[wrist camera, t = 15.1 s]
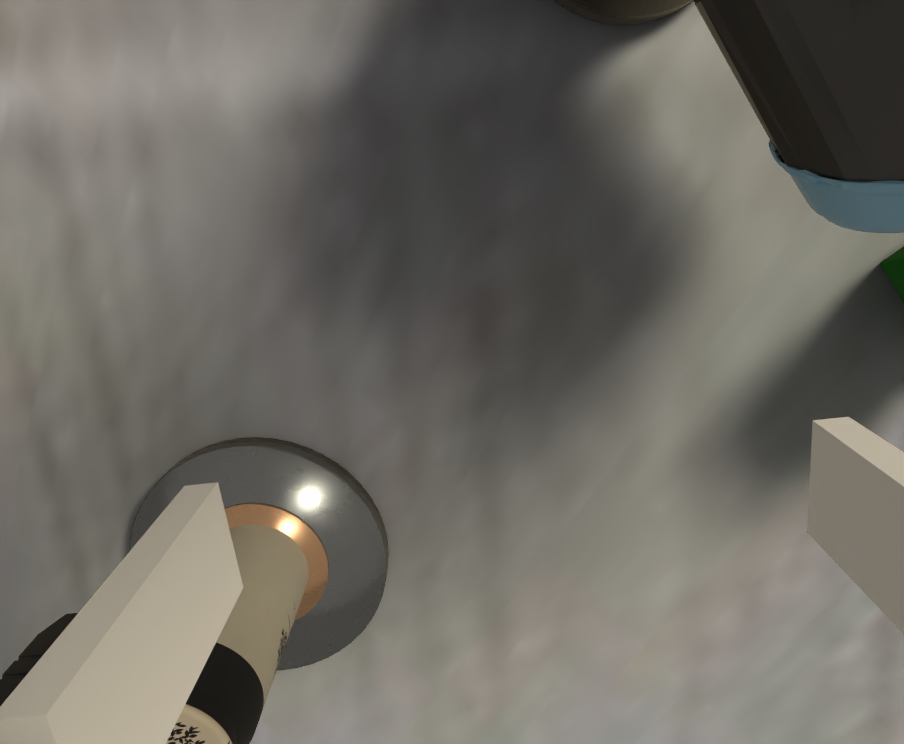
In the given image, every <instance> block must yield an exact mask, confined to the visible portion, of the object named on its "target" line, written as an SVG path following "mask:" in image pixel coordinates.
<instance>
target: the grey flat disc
mask: <svg viewBox="0 0 904 744" xmlns="http://www.w3.org/2000/svg"><path fill="white" fill-rule="evenodd" d="M216 482H218V485H219V489H220V493H221V497H222V501H223V505H224V509H225V513H226V518H227V522H228V526H229V529H231V528H234V527H237V526H241V525H247V524H258V525H265V526H269V527H272V528H275V529H277V530H279V531H281V532H283V533H285V534H286V535H288V536H289V537H290V538H292V539H293V540H294V541H295V542H296V543H297V544H298V546H299V547H300V548H301V550H302V551H303V553H304V555H305V557H306V560H307V564H308V570H309V575H308V582H307V585H306V588H305V591H304V594H303V597H302V599H301V602H300V605H299V608H298V611H297V614H296V616H295V619H294V622H293V625H292V628H291V631H290V633H289V636H288V639H287V642H286V645H285V648H284V650H283V653H282V656H281V659H280V662H279V665H278V667H277V670H286V669H292V668H298V667H302V666H306V665H310V664H313V663H316V662H318V661H321V660H323V659H326V658H328V657H329V656H331V655H333V654H335V653H337V652H339V651H340V650H341V649H343V648H344V647H346V646H347V645H348V644H350V643H351V642H352V641H353V640H354V639H355V638H356V637H357V636H358V635H359V634H360V633H361V632H362V631H363V630H364V629H365V627H366V626H367V625H368V624H369V622H370V621H371V619H372V617H373V616H374V614H375V612H376V610H377V608H378V606H379V603H380V601H381V598H382V595H383V590H384V586H385V581H386V575H387V569H388V555H389V553H388V541H387V536H386V531H385V527H384V524H383V521H382V519H381V516H380V514H379V511H378V509H377V508H376V506H375V504H374V502H373V500H372V499H371V497H370V496H369V495H368V493H367V492H366V491H365V489H364V488H363V487H362V485H361V484H360V483H359V482H358V481H357V480H356V479H355V478H354V477H353V476H352V475H351V474H350V473H349V472H347V471H346V470H345V469H344V468H342V467H341V466H340V465H339V464H337V463H336V462H334V461H333V460H331V459H329V458H328V457H326V456H324V455H323V454H321V453H318V452H316V451H314V450H312V449H310V448H307V447H304V446H301V445H298V444H295V443H292V442H288V441H283V440H278V439H270V438H239V439H233V440H227V441H223V442H219V443H216V444H213V445H209V446H207V447H205V448H202V449H200V450H198V451H196V452H194V453H192V454H191V455H189V456H187V457H186V458H184V459H183V460H181V461H180V462H179V463H178V464H176V465H175V466H174V467H173V468H172V469H171V470H169V471H168V473H167V474H166V475H165V476H164V477H163V478H162V479H161V480H160V481H159V482H158V483H157V485H156V486H155V487H154V488H153V489H152V490H151V492H150V493H149V494H148V496H147V497H146V499H145V500H144V502H143V504H142V505H141V507H140V509H139V512H138V514H137V516H136V519H135V522H134V526H133V530H132V534H131V544H130V550H131V549H132V548H133V547H134V546H135V544H136V543H137V542H138V541H139V540H140V538H141V537H142V536H143V535H144V534H145V532H146V531H147V530H148V529H149V528H150V526H151V525H152V524H153V523H154V522H155V520H156V519H157V518H158V517H159V516H160V514H161V513H162V512H163V511H164V510H165V509H166V507H167V506H168V505H169V504H170V503H171V501H172V500H173V499H174V498H175V497H176V495H177V494H178V493H179V492H180V491H181V489H182V488H183V487H184V486H187V485H196V484H206V483H216Z"/></svg>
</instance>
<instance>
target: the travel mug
mask: <svg viewBox="0 0 904 744" xmlns="http://www.w3.org/2000/svg"><path fill="white" fill-rule="evenodd" d="M229 530H230V534H231V538H232V542H233V546H234V551H235V555H236V559H237V563H238V567H239V571H240V575H241V579H242V584H243V589H242V591H241V593H240V595H239V597H238V599H237V601H236V603H235V605H234V607H233V609H232V611H231V613H230V615H229V617H228V619H227V621H226V623H225V625H224V627H223V629H222V631H221V633H220V635H219V637H218V639H217V641H216V643H215V645H214V648H213V650H212V652H211V654H210V656H209V658H208V660H207V662H206V664H205V666H204V668H203V670H202V672H201V674H200V676H199V678H198V680H197V682H196V684H195V686H194V688H193V690H192V692H191V694H190V696H189V698H188V700H187V702H186V704H185V706H184V708H183V710H182V712H181V714H180V716H179V718H178V720H177V722H176V724H175V726H174V728H173V730H172V732H171V734H170V736H169V738H168V740H167V742H166V744H249V743H250V741H251V740H252V737H253V735H254V733H255V730H256V727H257V724H258V721H259V719H260V716H261V713H262V710H263V707H264V704H265V702H266V699H267V696H268V693H269V690H270V687H271V684H272V682H273V679H274V676H275V673H276V670H277V667H278V665H279V662H280V659H281V656H282V653H283V650H284V648H285V645H286V642H287V639H288V636H289V633H290V631H291V628H292V625H293V622H294V619H295V616H296V614H297V611H298V608H299V605H300V602H301V599H302V597H303V594H304V591H305V588H306V585H307V582H308V575H309V570H308V564H307V560H306V557H305V555H304V553H303V551H302V550H301V548H300V547H299V546H298V544H297V543H296V542H295V541H294V540H293V539H292V538H290V537H289V536H288V535H286V534H285V533H283V532H281V531H279V530H277V529H275V528H272V527H269V526H265V525H258V524H247V525H241V526H237V527H234V528H231V529H229Z"/></svg>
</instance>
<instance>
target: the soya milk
mask: <svg viewBox="0 0 904 744" xmlns="http://www.w3.org/2000/svg"><path fill="white" fill-rule="evenodd" d="M880 265H881V267H882V268H883V270H884V271H885V273H886V275H887V276H888V278H889V279H890V281H891V283H892V284H893V286H894V288H895V289H896V291H897V292H898V294H899V296H900V297H901V299H902V300H903V302H904V247H903V248H902V249H900V250H899V251H898V252H896V253H895V254H893V255H892V256H890V257H889V258H888V259H886V260H885V261H883V262H882V263H880Z"/></svg>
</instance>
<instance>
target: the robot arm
mask: <svg viewBox="0 0 904 744" xmlns="http://www.w3.org/2000/svg"><path fill="white" fill-rule="evenodd" d="M555 1H556V2H558V3H559V4H560V5H562V6H563V7H565V8H566V9H568V10H569V11H571V12H573V13H575V14H577V15H579V16H581V17H584V18H586V19H589V20H592V21H596V22H600V23H606V24H614V25H630V24H639V23H645V22H649V21H653V20H656V19H659V18H662V17H664V16H667V15H669V14H671V13H673V12H675V11H677V10H679V9H681V8H682V7H684V6H686V5H687V4H689V3H690V2H691V1H693V0H555ZM694 2H696V3H695V5H696V7H697V9H698V11H699V12H700V14H701V16H702V18H703V20H704V21H705V23H706V25H707V27H708V29H709V30H710V32H711V34H712V36H713V38H714V39H715V41H716V43H717V45H718V47H719V48H720V50H721V52H722V54H723V56H724V57H725V59H726V61H727V63H728V65H729V66H730V68H731V70H732V72H733V74H734V75H735V77H736V79H737V81H738V83H739V84H740V86H741V88H742V90H743V92H744V93H745V95H746V97H747V99H748V101H749V102H750V104H751V106H752V108H753V110H754V111H755V113H756V115H757V117H758V119H759V120H760V122H761V124H762V126H763V128H764V129H765V131H766V133H767V135H768V137H769V138H770V142H769V147H770V150H771V153H772V155H773V157H774V159H775V161H776V162H777V163H778V164H779V165H780V166H782V167H783V168H784V170H785V171H786V172H788V173H789V174H790V175H791V177H792V178H793V180H794V182H795V183H796V185H797V186H798V188H799V190H800V191H801V193H802V195H803V196H804V198H805V199H806V201H807V203H808V204H809V205H810V207H811V208H812V209H813V210H814V211H815V212H816V213H818V214H819V215H821V216H823V217H824V218H826V219H827V220H828V221H830V222H832V223H835V224H836V225H838V226H840V227H844V228H848V229H852V230H856V231H863V232H873V233H901V232H904V0H694ZM807 532H808V534H809V535H810V536H811V537H812V538H813V539H814V540H815V541H816V542H817V543H818V544H819V545H820V546H821V547H822V548H823V549H824V550H825V551H826V553H827V554H828V555H829V556H830V557H831V558H832V559H833V560H834V561H835V562H836V563H837V564H838V565H839V566H840V567H841V568H842V569H843V570H844V572H845V573H846V574H847V575H848V576H849V577H850V578H851V579H852V580H853V581H854V582H855V583H856V584H857V585H858V586H859V587H860V588H861V589H862V591H863V592H864V593H865V594H866V595H867V596H868V597H869V598H870V599H871V600H872V601H873V602H874V603H875V604H876V605H877V606H878V607H879V608H880V610H881V611H882V612H883V613H884V614H885V615H886V616H887V617H888V618H889V619H890V620H891V621H892V622H893V623H894V624H895V625H896V626H897V627H898V629H899V630H900V631H901V632H902V633H903V634H904V452H902V451H901V450H899V449H898V448H896V447H894V446H893V445H891V444H890V443H888V442H887V441H885V440H884V439H882V438H881V437H879V436H878V435H876V434H874V433H873V432H871V431H870V430H868V429H867V428H865V427H864V426H862V425H861V424H859V423H858V422H856V421H854V420H853V419H851V418H850V417H841V418H831V419H821V420H813V423H812V444H811V465H810V486H809V507H808V528H807ZM242 589H243V584H242V579H241V575H240V571H239V567H238V563H237V559H236V555H235V551H234V546H233V542H232V538H231V534H230V530H229V526H228V522H227V518H226V513H225V509H224V505H223V501H222V497H221V493H220V489H219V485H218V482H216V483H206V484H196V485H187V486H184V487H183V488H182V489H181V491H180V492H179V493H178V494H177V495H176V497H175V498H174V499H173V500H172V501H171V503H170V504H169V505H168V506H167V507H166V509H165V510H164V511H163V512H162V513H161V514H160V516H159V517H158V518H157V519H156V520H155V522H154V523H153V524H152V525H151V526H150V528H149V529H148V530H147V531H146V532H145V534H144V535H143V536H142V537H141V538H140V540H139V541H138V542H137V543H136V544H135V546H134V547H133V548H132V549H131V550H130V552H129V553H128V554H127V555H126V556H125V558H124V559H123V560H122V561H121V562H120V564H119V565H118V566H117V567H116V568H115V570H114V571H113V572H112V573H111V574H110V576H109V577H108V578H107V579H106V580H105V582H104V583H103V584H102V585H101V586H100V588H99V589H98V590H97V591H96V592H95V594H94V595H93V596H92V597H91V598H90V600H89V601H88V602H87V603H86V604H85V606H84V607H83V608H82V609H81V610H80V612H79V613H73V614H66V615H64V616H63V617H62V618H60V619H59V620H57V621H56V622H55V623H53V624H52V625H50V626H49V627H48V628H46V629H45V630H44V631H42V632H41V633H39V634H38V635H37V636H36V637H35V639H34V640H33V641H32V642H31V643H30V644H29V645H28V647H27V648H26V649H25V650H24V651H23V652H22V653H21V654H20V656H19V660H18V661H14V662H13V664H12V665H11V666H10V667H9V668H8V669H7V670H6V671H5V673H4V674H3V677H2V679H0V744H166V742H167V740H168V738H169V736H170V734H171V732H172V730H173V728H174V726H175V724H176V722H177V720H178V718H179V716H180V714H181V712H182V710H183V708H184V706H185V704H186V702H187V700H188V698H189V696H190V694H191V692H192V690H193V688H194V686H195V684H196V682H197V680H198V678H199V676H200V674H201V672H202V670H203V668H204V666H205V664H206V662H207V660H208V658H209V656H210V654H211V652H212V650H213V648H214V645H215V643H216V641H217V639H218V637H219V635H220V633H221V631H222V629H223V627H224V625H225V623H226V621H227V619H228V617H229V615H230V613H231V611H232V609H233V607H234V605H235V603H236V601H237V599H238V597H239V595H240V593H241V591H242Z"/></svg>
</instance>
